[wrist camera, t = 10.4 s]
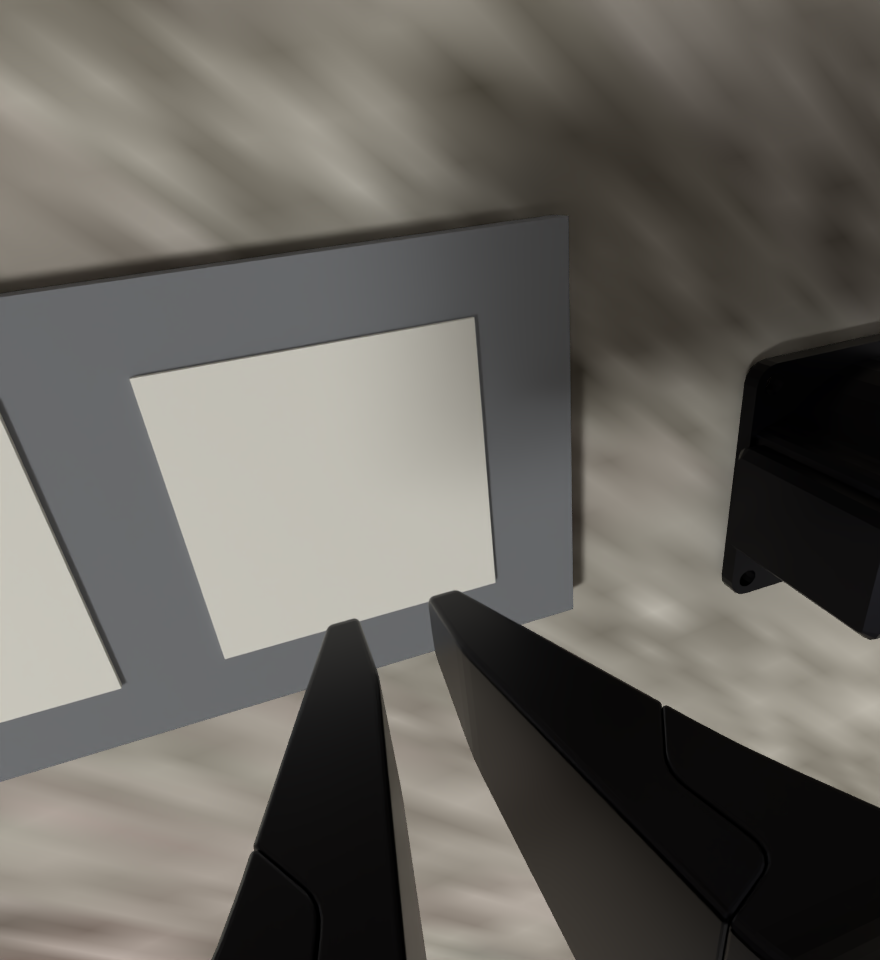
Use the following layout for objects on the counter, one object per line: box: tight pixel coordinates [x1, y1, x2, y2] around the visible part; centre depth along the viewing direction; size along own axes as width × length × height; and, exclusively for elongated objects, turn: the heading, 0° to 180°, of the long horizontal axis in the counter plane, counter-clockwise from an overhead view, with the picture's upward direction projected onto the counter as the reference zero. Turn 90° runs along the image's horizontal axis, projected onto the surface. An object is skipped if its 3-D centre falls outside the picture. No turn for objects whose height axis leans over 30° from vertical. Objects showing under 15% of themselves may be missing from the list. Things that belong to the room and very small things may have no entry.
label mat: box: [0, 215, 573, 782], centre depth 12 cm, size 18×9×1 cm, turn 96°
